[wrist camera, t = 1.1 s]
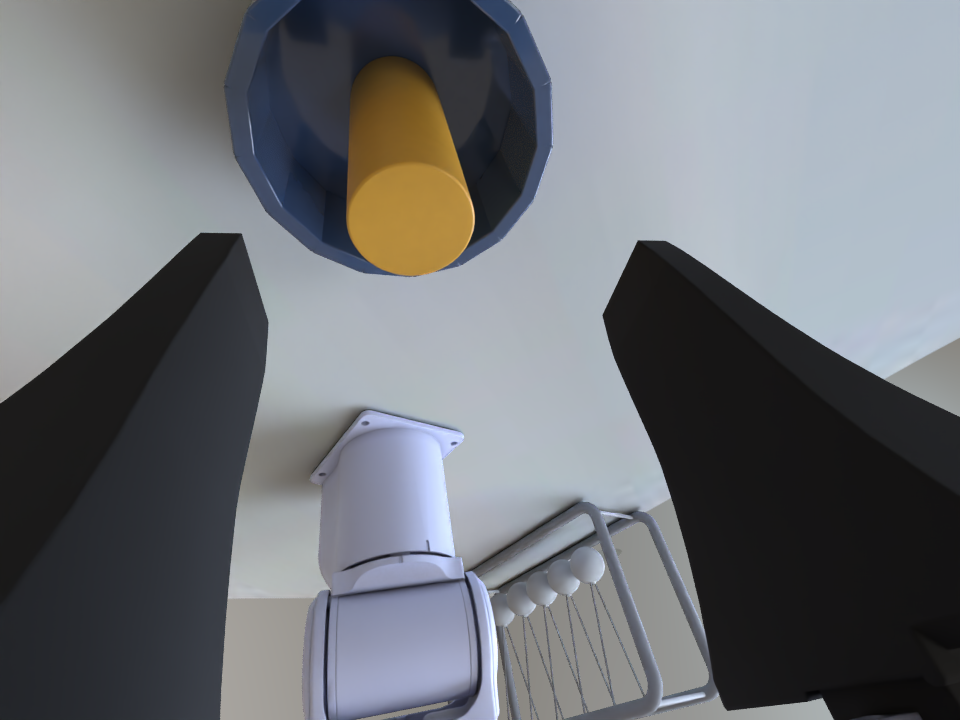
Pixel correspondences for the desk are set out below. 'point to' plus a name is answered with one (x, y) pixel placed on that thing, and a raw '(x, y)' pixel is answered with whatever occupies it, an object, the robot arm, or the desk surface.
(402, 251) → the peg
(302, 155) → the cup
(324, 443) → the desk surface
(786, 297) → the desk surface
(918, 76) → the desk surface
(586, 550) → the newton's cradle
